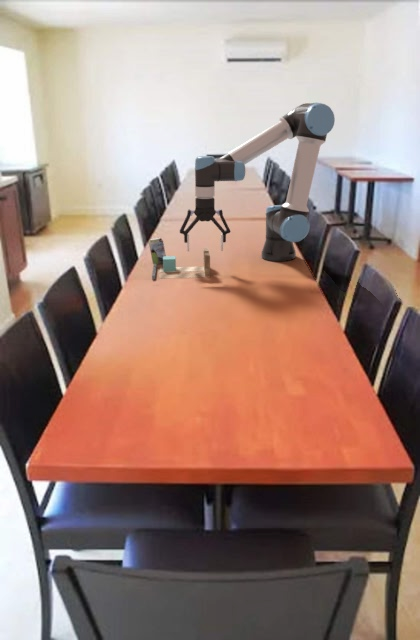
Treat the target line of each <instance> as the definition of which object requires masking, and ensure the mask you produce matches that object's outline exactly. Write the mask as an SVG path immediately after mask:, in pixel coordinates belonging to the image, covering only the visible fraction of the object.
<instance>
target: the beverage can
mask: <svg viewBox="0 0 420 640" xmlns="http://www.w3.org/2000/svg"><path fill="white" fill-rule="evenodd" d="M148 244H149V246H148V247H149V250H150V254H151V260H152V264H153V265H154V263H157V265H158V266H159V265H163V256H167V254H166V249H165V246H164V245H165V244H164V240H163V239H162V237H160V236H159V237H153V238H150V239H149V241H148Z"/></svg>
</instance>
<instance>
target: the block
mask: <svg viewBox="0 0 420 640" xmlns="http://www.w3.org/2000/svg"><path fill="white" fill-rule="evenodd" d="M176 260H177V259H176V255H166V256H163V264H162V265H163V266H162V268H163V272H162V273H166V272H165V271H176V267H177V265H176V264H177V263H176Z"/></svg>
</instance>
